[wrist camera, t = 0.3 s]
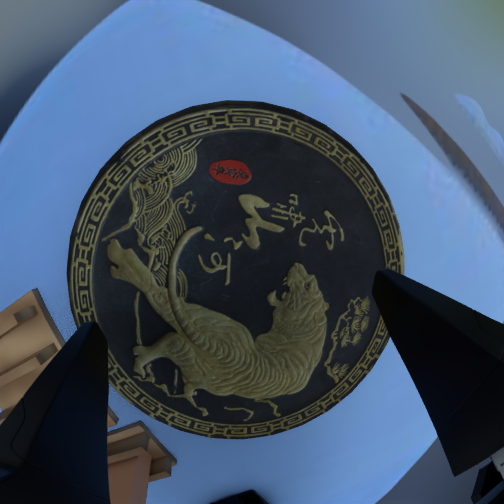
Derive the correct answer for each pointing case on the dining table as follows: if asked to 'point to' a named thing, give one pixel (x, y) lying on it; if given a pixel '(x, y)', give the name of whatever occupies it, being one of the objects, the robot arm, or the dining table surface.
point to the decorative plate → (235, 268)
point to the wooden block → (129, 479)
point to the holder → (140, 449)
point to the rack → (27, 349)
